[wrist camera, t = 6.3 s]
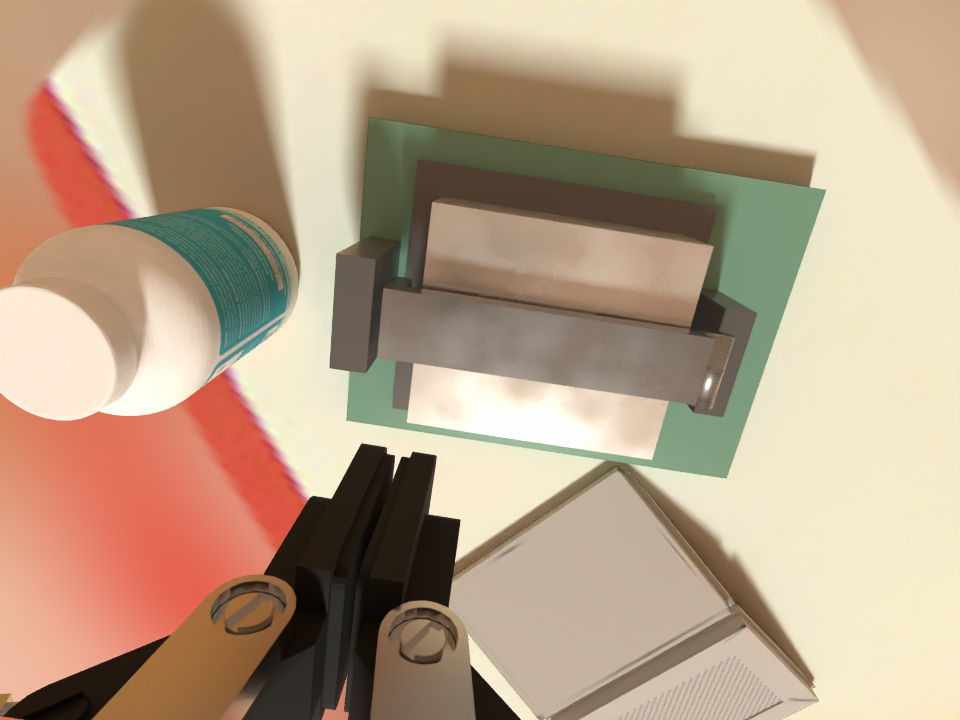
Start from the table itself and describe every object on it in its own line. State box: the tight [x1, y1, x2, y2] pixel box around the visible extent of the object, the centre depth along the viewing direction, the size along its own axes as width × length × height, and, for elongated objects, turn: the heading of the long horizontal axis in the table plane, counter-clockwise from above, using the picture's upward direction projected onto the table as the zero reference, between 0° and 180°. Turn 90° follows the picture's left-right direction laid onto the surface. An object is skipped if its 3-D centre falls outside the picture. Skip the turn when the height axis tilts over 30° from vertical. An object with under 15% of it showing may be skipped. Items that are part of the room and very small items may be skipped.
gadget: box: [449, 466, 819, 720], centre depth 36 cm, size 23×15×4 cm, turn 41°
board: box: [330, 117, 826, 478], centre depth 27 cm, size 22×16×7 cm
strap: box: [377, 276, 735, 410], centre depth 24 cm, size 15×3×3 cm, turn 82°
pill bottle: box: [0, 207, 298, 420], centre depth 24 cm, size 8×7×14 cm
